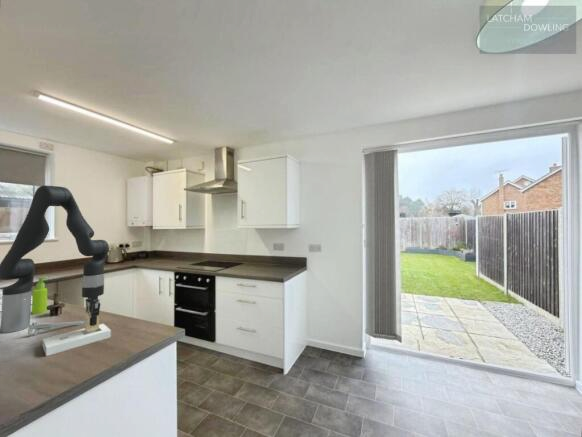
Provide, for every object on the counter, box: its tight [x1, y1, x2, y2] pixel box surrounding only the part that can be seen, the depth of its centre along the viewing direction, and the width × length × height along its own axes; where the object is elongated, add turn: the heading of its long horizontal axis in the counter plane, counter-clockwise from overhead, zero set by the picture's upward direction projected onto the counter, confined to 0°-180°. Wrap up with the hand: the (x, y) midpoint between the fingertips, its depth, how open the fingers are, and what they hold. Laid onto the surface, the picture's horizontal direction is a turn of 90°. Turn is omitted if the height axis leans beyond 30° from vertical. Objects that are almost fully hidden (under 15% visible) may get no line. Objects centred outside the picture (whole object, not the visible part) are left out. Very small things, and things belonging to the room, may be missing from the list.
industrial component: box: [47, 292, 66, 317], centre depth 133 cm, size 9×7×12 cm
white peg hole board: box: [41, 323, 112, 357], centre depth 101 cm, size 12×20×3 cm, turn 141°
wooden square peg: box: [84, 310, 100, 332], centre depth 105 cm, size 4×4×8 cm
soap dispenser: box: [31, 276, 50, 315], centre depth 136 cm, size 6×7×20 cm
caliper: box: [27, 320, 85, 338], centre depth 113 cm, size 20×1×6 cm, turn 143°
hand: (91, 323), depth 104 cm, fingers closed on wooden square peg, 4 cm apart
